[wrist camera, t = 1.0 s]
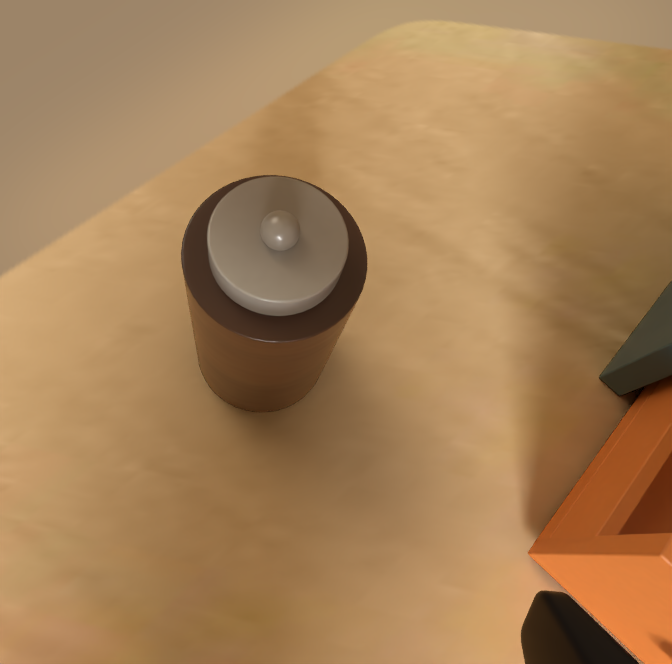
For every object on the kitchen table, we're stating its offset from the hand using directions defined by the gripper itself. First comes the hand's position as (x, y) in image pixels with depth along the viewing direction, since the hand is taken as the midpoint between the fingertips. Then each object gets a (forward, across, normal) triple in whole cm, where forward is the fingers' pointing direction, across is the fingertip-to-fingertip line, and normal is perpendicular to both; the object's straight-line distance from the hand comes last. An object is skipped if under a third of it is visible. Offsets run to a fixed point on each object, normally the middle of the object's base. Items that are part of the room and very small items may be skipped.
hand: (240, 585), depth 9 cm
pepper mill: (+15, 0, +4) cm, 16 cm away
